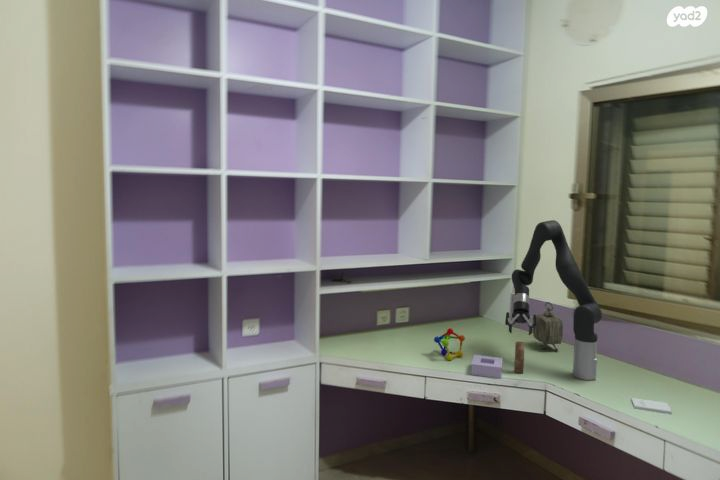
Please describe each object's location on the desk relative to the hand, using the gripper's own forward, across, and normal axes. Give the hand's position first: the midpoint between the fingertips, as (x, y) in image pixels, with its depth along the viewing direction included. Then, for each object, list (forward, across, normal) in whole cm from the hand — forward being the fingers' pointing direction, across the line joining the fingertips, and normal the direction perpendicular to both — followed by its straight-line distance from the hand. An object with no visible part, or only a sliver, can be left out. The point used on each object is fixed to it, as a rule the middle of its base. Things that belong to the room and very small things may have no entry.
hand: (520, 333), depth 230 cm
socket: (+21, -14, +2) cm, 25 cm away
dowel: (+18, 0, +5) cm, 18 cm away
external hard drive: (+32, +49, -9) cm, 59 cm away
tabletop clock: (-11, +14, +34) cm, 38 cm away
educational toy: (+11, -34, +12) cm, 38 cm away
